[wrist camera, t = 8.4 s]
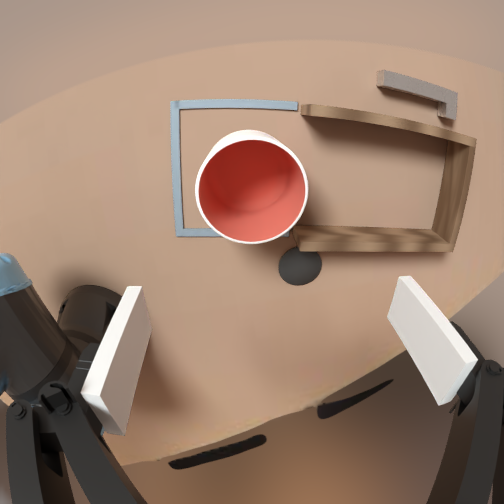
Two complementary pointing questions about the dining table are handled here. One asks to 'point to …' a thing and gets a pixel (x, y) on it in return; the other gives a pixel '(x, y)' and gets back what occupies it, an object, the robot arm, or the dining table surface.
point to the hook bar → (421, 91)
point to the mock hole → (299, 266)
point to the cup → (251, 188)
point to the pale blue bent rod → (176, 149)
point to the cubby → (400, 238)
